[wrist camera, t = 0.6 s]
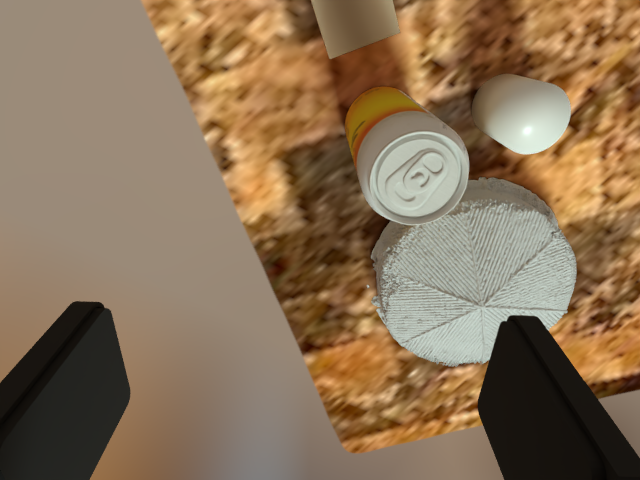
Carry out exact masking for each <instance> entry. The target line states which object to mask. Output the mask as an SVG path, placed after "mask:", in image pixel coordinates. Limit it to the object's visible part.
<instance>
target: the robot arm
mask: <svg viewBox="0 0 640 480" xmlns="http://www.w3.org/2000/svg"><path fill="white" fill-rule="evenodd" d="M129 399H130V387H129V382H128V379H127V375H126V370H125V366H124V362H123V358H122V354H121V350H120V346H119V342H118V338H117V334H116V330H115V326H114V322H113V318H112V314H111V311H110V310H109V309H107V308H104V305H103V304H102V303H100V302H79V301H76V302H73V303H72V304H70V306H69V307H68V308H67V309H66V310H65V311H64V312H63V313H62V315H61V316H60V317H59V318H58V319H57V320H56V321H55V322H54V323H53V324H52V326H51V327H50V328H49V329H48V330H47V331H46V332H45V333H44V335H43V336H42V337H41V338H40V339H39V340H38V341H37V342H36V344H35V345H34V346H33V347H32V348H31V349H30V350H29V351H28V352H27V354H26V355H25V356H24V357H23V358H22V359H21V360H20V361H19V362H18V364H17V365H16V366H15V367H14V368H13V369H12V370H11V371H10V373H9V374H8V375H7V376H6V377H5V378H4V379H3V380H2V382H1V383H0V480H89V479H90V477H91V475H92V474H93V472H94V470H95V468H96V466H97V464H98V462H99V460H100V458H101V456H102V454H103V452H104V450H105V448H106V446H107V444H108V442H109V440H110V438H111V436H112V435H113V432H114V431H115V428H116V427H117V425H118V423H119V421H120V419H121V417H122V415H123V413H124V411H125V409H126V407H127V405H128V403H129ZM478 412H479V415H480V418H481V421H482V423H483V426H484V429H485V431H486V434H487V436H488V439H489V441H490V444H491V447H492V449H493V451H494V454H495V457H496V459H497V462H498V465H499V467H500V470H501V472H502V475H503V477H504V480H640V458H639V457H638V455H637V454H636V452H635V451H634V449H633V448H632V447H631V445H630V444H629V442H628V441H627V440H626V438H625V437H624V435H623V434H622V433H621V431H620V430H619V429H618V427H617V426H616V424H615V423H614V421H613V420H612V419H611V417H610V416H609V415H608V413H607V412H606V410H605V409H604V408H603V406H602V405H601V403H600V402H599V401H598V399H597V398H596V396H595V395H594V394H593V392H592V391H591V389H590V388H589V387H588V385H587V384H586V382H585V381H584V380H583V379H582V377H581V376H580V375H579V373H578V372H577V370H576V369H575V368H574V366H573V365H572V363H571V362H570V361H569V359H568V358H567V356H566V355H565V354H564V352H563V351H562V349H561V348H560V347H559V345H558V344H557V342H556V341H555V340H554V338H553V337H552V335H551V334H550V333H549V331H548V330H547V328H546V327H545V326H544V324H543V323H542V321H541V320H540V319H539V318H538V317H537V316H528V315H511V316H509V317H508V319H507V321H502V322H501V323H500V325H499V329H498V332H497V336H496V339H495V343H494V346H493V350H492V353H491V357H490V360H489V364H488V367H487V371H486V374H485V378H484V381H483V385H482V388H481V392H480V395H479V399H478Z"/></svg>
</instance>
